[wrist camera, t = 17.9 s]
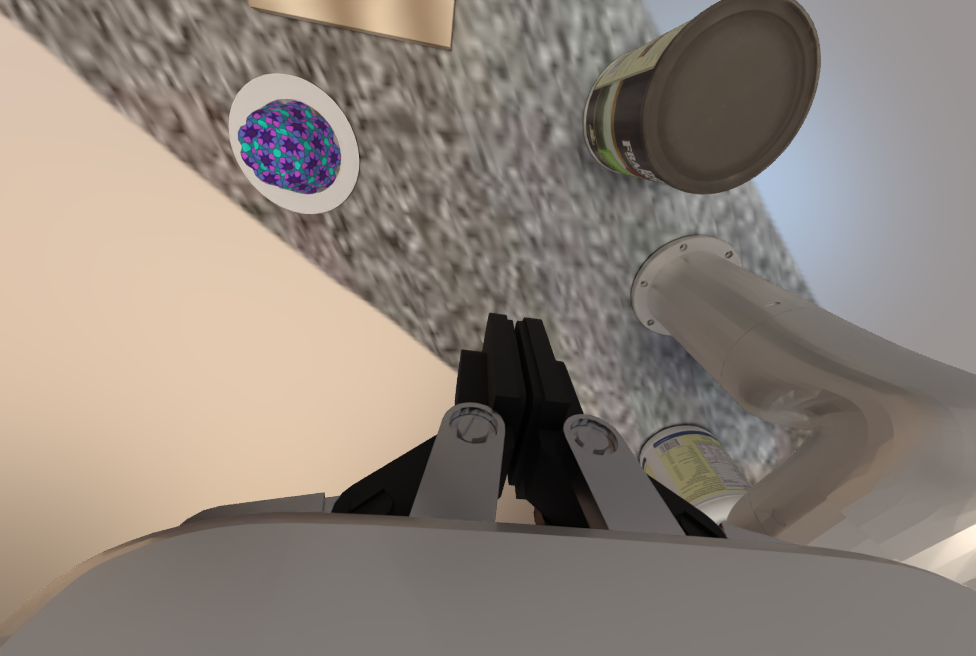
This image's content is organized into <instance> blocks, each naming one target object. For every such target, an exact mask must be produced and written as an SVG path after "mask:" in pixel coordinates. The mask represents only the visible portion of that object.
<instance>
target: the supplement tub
mask: <svg viewBox="0 0 976 656" xmlns="http://www.w3.org/2000/svg"><path fill="white" fill-rule="evenodd" d="M640 464H641V467H642V468H643V470H644V472H645V473H647V474H648V475H649V476H651V477H652V478H654V479H655V480H657V481H658V482H660V483H661V484H663V485H664V486H665V487H667V488H668V489H670V490H671V491H673V492H674V493H676V494H677V495H679V496H680V497H681V498H683V499H684V500H686V501H687V502H689V503H690V504H692V505H693V506H695V507H696V508H698V509H699V510H700V511H702V512H703V513H705V514H706V515H707V516H708V517H709V518H711V519H712V520H713V521H714V522H715V523H716V524H717V525H718V526H719V524H720V523H721V522H722V523H725V524H726V521H727V517H728V515H729V513H730V511H731V509H732V508H733V506H734V505H735V504H736V503H737V502H738V501H739V500H740V499H741V498H742V497H743V496H744V495H745V494H746V493H747V492H748V491H749V490H751V489H752V488H753V486H752V484H751V483H750V482H749V480H748V479H747V478H746V477H745V475H744V474H743V473H742V472H741V470H740V469H739V468H738V466H737V465H736V464H735V463H734V461H733V460H732V459H731V457H730V456H729V455H728V454H727V452H726V451H725V450H724V448H723V447H722V446H721V445H720V443H719V442H718V440H717V439H716V438H715V437H714V436H713V435H712V434H711V433H710V432H708V431H706V430H704V429H702V428H699V427H695V426H676V427H671V428H668V429H665V430H663V431H661V432H659V433H657V434H656V435H654V436H653V437H652V438H651V439H650V440H649V441H648V442H647V443H646V444H645V446H644V447H643V449H642V451H641V455H640Z"/></svg>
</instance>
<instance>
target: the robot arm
mask: <svg viewBox="0 0 976 656" xmlns="http://www.w3.org/2000/svg"><path fill="white" fill-rule="evenodd" d="M631 302H632V307H633V310H634V313H635V315H636V317H637V318H638V319H639V320H640V322H641V323H642V324H643V325H644V326H645V327H646V328H648V329H649V330H651V331H653V332H655V333H658V334H661V335H668V336H673V337H674V338H675V339H676V340H677V341H678V342H679V343H680V344H681V345H682V346H683V347H684V349H685V350H686V351H687V352H688V353H689V354H690V355H691V356H692V357H693V358H694V359H695V360H696V361H697V362H698V363H699V364H700V365H701V366H702V367H703V368H704V369H705V370H706V371H707V373H708V374H709V375H710V376H711V377H712V378H713V379H714V380H715V381H716V382H717V383H718V384H719V385H720V386H721V387H722V388H723V389H724V390H725V391H726V392H727V393H728V394H729V395H730V396H731V397H732V398H733V399H734V400H735V401H736V402H737V403H738V404H739V405H740V406H741V407H742V408H743V409H745V410H746V411H747V412H749V413H750V414H752V415H754V416H756V417H758V418H760V419H762V420H764V421H767V422H770V423H773V424H777V425H780V426H784V427H790V428H795V429H802V430H809V431H813V433H812V434H811V435H810V437H809V438H808V439H807V440H806V441H805V442H804V443H803V444H801V445H800V446H799V447H798V448H797V449H796V451H795V452H794V453H793V454H792V455H790V456H789V457H788V458H787V459H786V460H784V461H783V462H782V463H781V464H780V465H778V466H777V467H776V468H775V469H774V470H773V471H771V472H770V473H769V474H768V475H767V476H765V477H764V478H763V479H762V480H761V481H759V482H758V483H757V484H756V485H755V486H754V487H753V488H752V489H751V490H749V491H748V492H747V493H746V494H745V495H744V496H743V497H742V498H741V499H740V500H739V501H738V502H737V503H736V504H735V505H734V506H733V508H732V509H731V511H730V513H729V515H728V517H727V521H726V524H725V523H722V522H721V523H720V524H719V526H718V525H717V524H716V523H715V522H714V521H713V520H712V519H711V518H709V517H708V516H707V515H706V514H705V513H703V512H702V511H700V510H699V509H698V508H696V507H695V506H693V505H692V504H690V503H689V502H687V501H686V500H684V499H683V498H681V497H680V496H679V495H677V494H676V493H674V492H673V491H671V490H670V489H668V488H667V487H665V486H664V485H663V484H661V483H660V482H658V481H657V480H655V479H654V478H652V477H651V476H649V475H648V474H647V473H645V472H644V470H643V468H642V467H641V465H640V464H639V462H638V461H637V459H636V458H635V456H634V455H633V453H632V452H631V450H630V448H629V447H628V445H627V444H626V442H625V441H624V439H623V438H622V436H621V435H620V434H619V432H618V431H617V430H616V429H615V428H614V427H613V426H612V425H610V424H609V423H608V422H606V421H604V420H602V419H600V418H598V417H595V416H592V415H586V414H583V411H582V408H581V406H580V403H579V400H578V398H577V395H576V392H575V390H574V387H573V384H572V382H571V379H570V376H569V374H568V371H567V368H566V366H565V364H564V362H562V361H556V360H555V357H554V354H553V351H552V348H551V345H550V342H549V339H548V336H547V334H546V331H545V328H544V325H543V322H542V320H541V319H533V318H525V317H524V318H523V321H517V322H516V326H515V330H514V325H513V320H507V315H502V314H495V313H489V316H488V321H487V326H486V332H485V338H484V343H483V349H482V352H479V351H470V350H461V356H460V362H459V369H458V377H457V385H456V394H455V406H453V407H452V408H450V409H449V410H448V411H447V412H446V413H445V415H444V417H443V419H442V422H441V425H440V428H439V431H438V434H437V435H436V436H434V437H432V438H430V439H429V440H427V441H425V442H424V443H422V444H420V445H419V446H417V447H415V448H413V449H412V450H410V451H409V452H407V453H406V454H404V455H402V456H400V457H399V458H397V459H395V460H393V461H392V462H390V463H388V464H387V465H385V466H384V467H382V468H380V469H378V470H377V471H375V472H373V473H372V474H370V475H368V476H367V477H365V478H363V479H362V480H360V481H359V482H357V483H355V484H353V485H352V486H351V487H349V488H348V489H347V490H346V491H344V492H343V493H342V494H341V495H340V496H335V497H327V498H325V493H316V494H308V495H301V496H294V497H285V498H277V499H270V500H262V501H255V502H246V503H239V504H231V505H224V506H218V507H214V508H210V509H207V510H203V511H201V512H199V513H198V514H196V515H194V516H192V517H190V518H188V519H187V520H185V521H184V522H183V523H182V524H181V525H180V526H177V527H174V528H170V529H166V530H162V531H158V532H155V533H151V534H149V535H146V536H143V537H140V538H137V539H134V540H131V541H129V542H126V543H123V544H121V545H119V546H116V547H114V548H111V549H109V550H106V551H104V552H102V553H100V554H98V555H96V556H95V557H92V558H90V559H88V560H86V561H84V562H82V563H81V564H79V565H77V566H76V567H74V568H73V569H71V570H69V571H68V572H66V573H65V574H64V575H62V576H60V577H59V578H57V579H56V580H54V581H53V582H51V583H50V584H49V585H47V586H46V587H45V588H43V589H42V590H41V591H39V592H38V593H37V594H36V595H34V596H33V597H32V598H30V599H29V600H28V601H27V602H25V603H24V604H23V605H22V606H21V607H19V608H18V609H17V610H16V611H15V612H13V613H12V614H11V615H10V616H9V617H8V618H6V619H5V620H4V621H3V622H1V624H0V656H976V375H975V374H972V373H969V372H967V371H964V370H961V369H958V368H956V367H953V366H950V365H947V364H945V363H942V362H939V361H937V360H934V359H932V358H929V357H927V356H924V355H922V354H919V353H916V352H914V351H911V350H909V349H906V348H904V347H901V346H899V345H897V344H895V343H893V342H891V341H888V340H886V339H884V338H882V337H880V336H878V335H876V334H873V333H871V332H869V331H867V330H865V329H862V328H860V327H858V326H856V325H854V324H852V323H850V322H848V321H846V320H844V319H842V318H840V317H838V316H836V315H834V314H832V313H830V312H828V311H826V310H824V309H822V308H820V307H818V306H816V305H814V304H812V303H811V302H809V301H807V300H805V299H803V298H801V297H799V296H797V295H795V294H793V293H791V292H789V291H787V290H785V289H783V288H781V287H779V286H777V285H775V284H773V283H771V282H769V281H767V280H765V279H763V278H761V277H759V276H757V275H755V274H753V273H751V272H749V271H748V270H746V269H744V268H743V265H742V262H741V258H740V256H739V255H738V253H737V251H736V250H735V249H734V248H733V247H732V246H731V245H730V244H728V243H726V242H724V241H723V240H720V239H718V238H715V237H712V236H706V235H692V236H688V237H683V238H680V239H677V240H675V241H672V242H670V243H668V244H667V245H665V246H663V247H662V248H660V249H659V250H658V251H656V252H655V253H654V254H653V255H652V256H651V257H650V258H649V259H648V260H647V261H646V262H645V263H644V264H643V266H642V267H641V269H640V271H639V272H638V274H637V276H636V278H635V281H634V283H633V287H632V292H631ZM507 474H508V483H509V485H514V486H515V492H516V499H526V500H527V501H529V502H530V503H531V504H532V505H533V506H534V512H533V513H534V521H535V524H536V525H530V524H514V523H499V522H495V519H496V510H497V501H498V499H499V498H500V497H501V495H502V491H503V487H504V483H505V480H506V476H507Z"/></svg>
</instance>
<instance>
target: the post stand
mask: <svg viewBox="0 0 976 656" xmlns="http://www.w3.org/2000/svg"><path fill="white" fill-rule="evenodd" d="M248 2H249V6H250V7H252V8H253V9H255V10H257V11H259V12H262V13H267V14H272V15H277V16H282V17H287V18H292V19H297V20H302V21H307V22H312V23H317V24H321V25H326V26H331V27H336V28H341V29H346V30H351V31H356V32H361V33H366V34H371V35H376V36H380V37H385V38H390V39H395V40H400V41H405V42H410V43H415V44H420V45H425V46H430V47H434V48H439V49H444V50H449V51H451V49H452V38H453V26H454V14H455V2H456V0H248Z"/></svg>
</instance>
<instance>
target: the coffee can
mask: <svg viewBox="0 0 976 656" xmlns="http://www.w3.org/2000/svg"><path fill="white" fill-rule="evenodd" d="M820 67H821V53H820V44H819V38H818V34H817V31H816V28H815V26H814V23H813V21H812V20H811V18H810V16H809V14H808V13H807V12H806V11H805V9H804V8H803V7H802V6H801V5H800V4H799V3H798V2H797V1H795V0H721V1H719V2H717V3H715V4H714V5H712V6H710V7H709V8H707V9H706V10H704V11H703V12H701V13H700V14H699V15H697V16H696V17H695V18H694V19H692V20H690V21H688V22H686V23H684V24H682V25H680V26H679V27H677V28H674V29H673V30H671V31H669V32H667V33H665V34H664V35H662V36H660V37H658V38H656V39H654V40H653V41H651V42H649V43H647V44H645V45H643V46H641V47H639V48H637V49H635V50H632V51H630V52H627V53H626V54H624V55H622V56H620V57H619V58H617V59H616V60H615V61H613V62H612V63H611V64H610V65H609V66H608V67H607V68H606V69H605V70H604V71H603V72H602V74H601V75H600V76H599V77H598V79H597V81H596V82H595V84H594V86H593V87H592V89H591V91H590V94H589V97H588V99H587V102H586V107H585V111H584V121H583V127H584V136H585V141H586V143H587V146H588V149H589V151H590V152H591V154H592V156H593V157H594V158H595V159H596V161H597V162H598V163H600V164H601V165H602V166H603V167H605V168H606V169H608V170H610V171H613V172H617V173H624V174H628V175H632V176H636V177H639V178H643V179H647V180H650V181H654V182H657V183H662V184H665V185H669V186H672V187H673V188H676V189H678V190H681V191H684V192H687V193H693V194H714V193H719V192H723V191H728V190H730V189H733V188H735V187H738V186H740V185H742V184H744V183H746V182H748V181H749V180H751V179H752V178H754V177H756V176H757V175H758V174H760V173H761V172H762V171H764V170H765V169H766V168H767V167H769V166H770V165H771V164H772V163H773V162H774V161H775V160H776V159H777V158H778V156H780V155H781V154H782V153H783V151H784V150H785V149H786V148H787V147H788V145H789V144H790V143H791V141H792V140H793V138H794V137H795V136H796V134H797V133H798V131H799V129H800V128H801V126H802V124H803V122H804V120H805V119H806V117H807V115H808V112H809V110H810V108H811V105H812V102H813V99H814V96H815V93H816V90H817V86H818V80H819V74H820Z"/></svg>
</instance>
